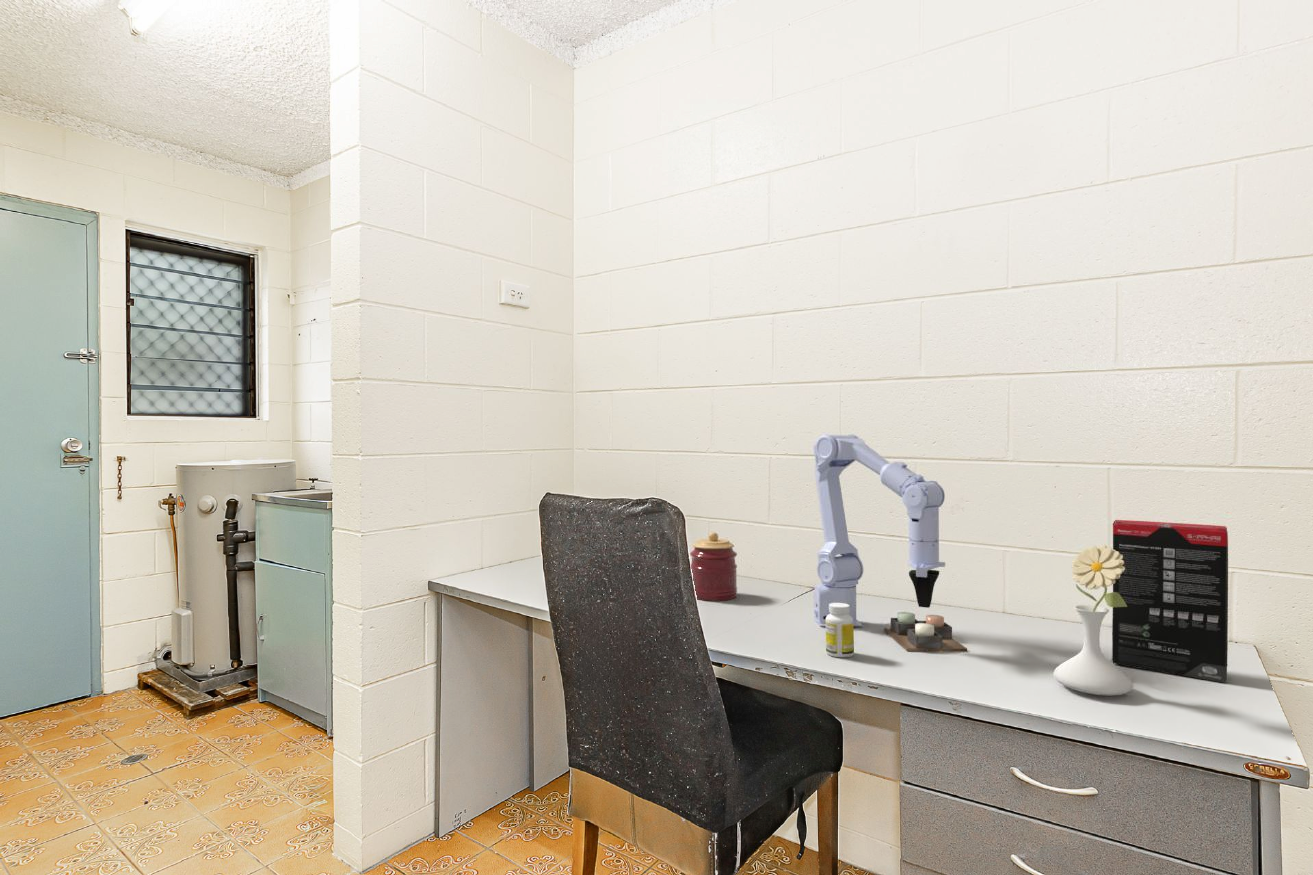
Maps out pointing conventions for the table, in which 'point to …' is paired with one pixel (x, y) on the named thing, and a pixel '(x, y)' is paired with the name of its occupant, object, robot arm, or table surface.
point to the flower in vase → (1095, 626)
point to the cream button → (924, 629)
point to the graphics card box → (1172, 598)
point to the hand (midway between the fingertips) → (924, 606)
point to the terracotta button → (935, 620)
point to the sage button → (906, 617)
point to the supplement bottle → (839, 631)
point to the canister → (714, 569)
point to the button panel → (923, 638)
